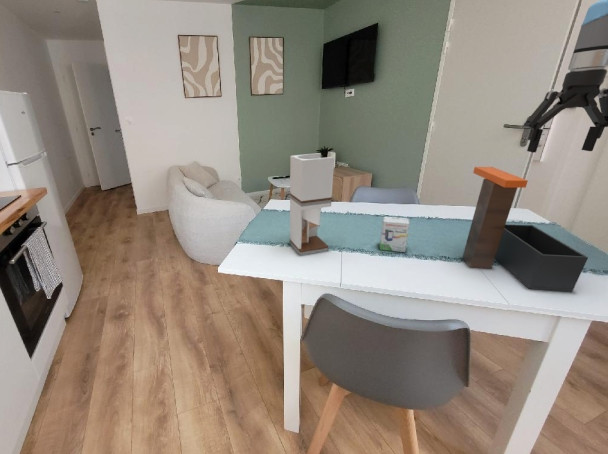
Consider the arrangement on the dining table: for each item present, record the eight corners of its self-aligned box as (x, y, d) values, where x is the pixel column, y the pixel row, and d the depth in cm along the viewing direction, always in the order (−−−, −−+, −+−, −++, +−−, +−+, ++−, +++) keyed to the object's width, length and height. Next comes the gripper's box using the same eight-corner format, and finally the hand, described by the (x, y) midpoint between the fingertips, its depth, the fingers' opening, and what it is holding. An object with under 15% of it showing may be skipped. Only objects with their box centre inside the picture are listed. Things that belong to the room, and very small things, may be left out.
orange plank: (473, 172, 96) (474, 166, 95) (490, 172, 95) (492, 166, 94) (504, 187, 80) (506, 180, 79) (525, 187, 79) (528, 180, 78)
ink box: (403, 246, 110) (409, 217, 105) (405, 253, 105) (410, 223, 101) (379, 244, 113) (383, 215, 108) (379, 250, 108) (383, 220, 104)
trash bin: (488, 252, 103) (496, 224, 99) (521, 254, 101) (532, 225, 96) (528, 288, 83) (542, 255, 79) (572, 292, 81) (588, 257, 76)
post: (461, 258, 100) (483, 178, 89) (481, 259, 99) (506, 178, 88) (470, 267, 95) (494, 183, 84) (491, 268, 93) (518, 183, 82)
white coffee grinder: (300, 255, 108) (302, 160, 94) (289, 243, 117) (290, 155, 104) (328, 250, 110) (334, 157, 96) (315, 239, 120) (319, 153, 106)
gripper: (631, 67, 78) (599, 148, 86) (522, 75, 83) (502, 150, 92) (661, 64, 71) (623, 151, 80) (541, 72, 77) (516, 154, 85)
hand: (558, 151), depth 86 cm, fingers open, 13 cm apart
